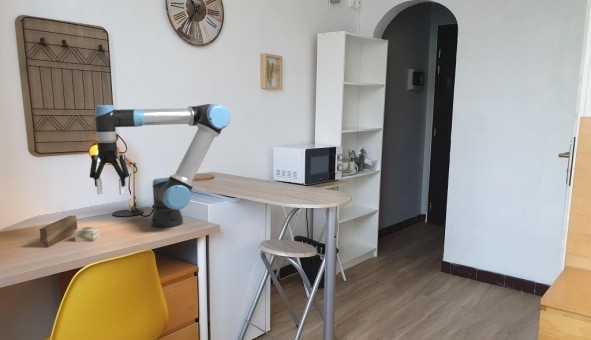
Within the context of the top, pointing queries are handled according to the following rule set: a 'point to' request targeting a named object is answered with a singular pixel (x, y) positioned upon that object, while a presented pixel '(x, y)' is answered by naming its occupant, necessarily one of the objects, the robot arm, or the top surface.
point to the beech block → (87, 234)
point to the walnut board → (58, 231)
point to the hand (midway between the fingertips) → (110, 193)
